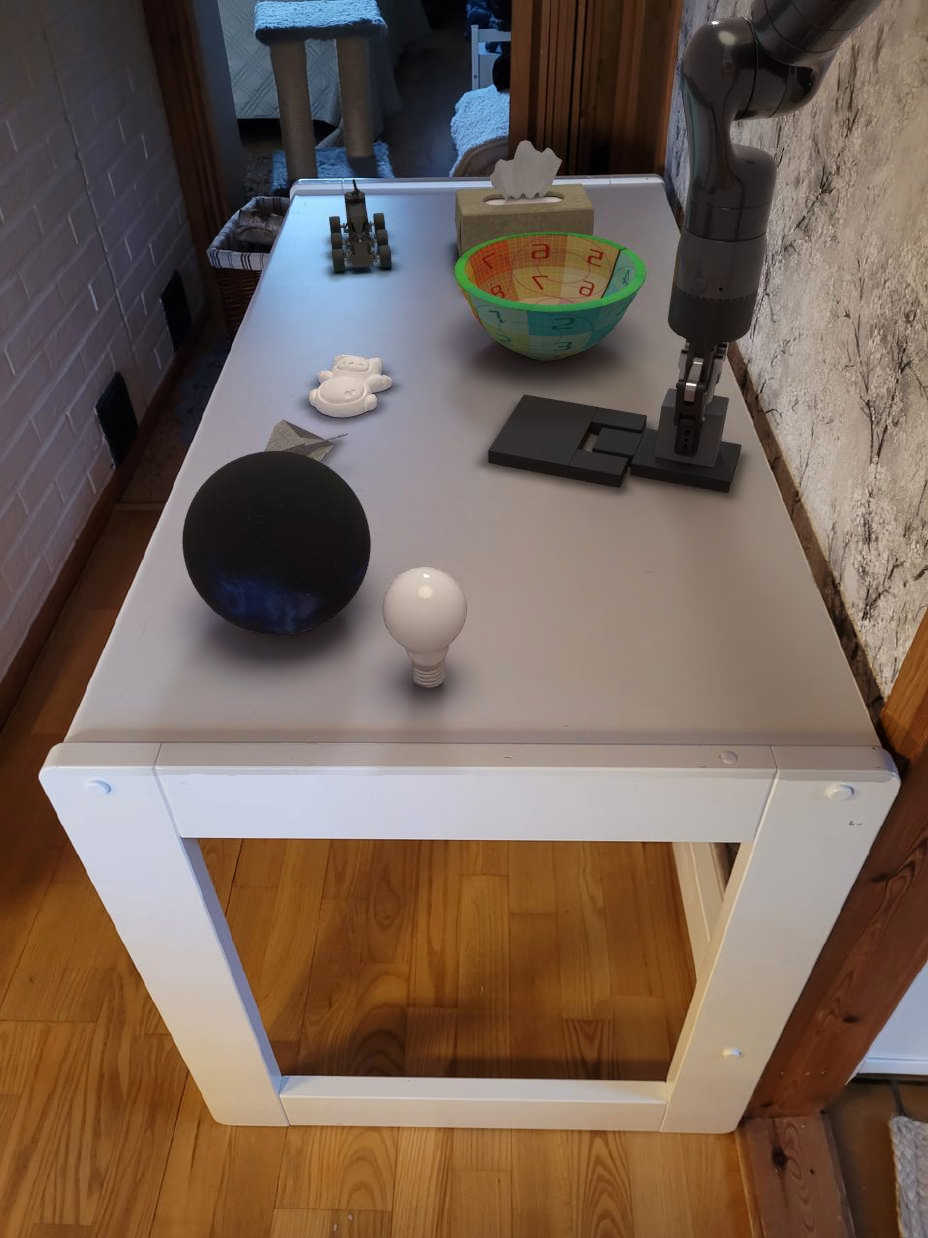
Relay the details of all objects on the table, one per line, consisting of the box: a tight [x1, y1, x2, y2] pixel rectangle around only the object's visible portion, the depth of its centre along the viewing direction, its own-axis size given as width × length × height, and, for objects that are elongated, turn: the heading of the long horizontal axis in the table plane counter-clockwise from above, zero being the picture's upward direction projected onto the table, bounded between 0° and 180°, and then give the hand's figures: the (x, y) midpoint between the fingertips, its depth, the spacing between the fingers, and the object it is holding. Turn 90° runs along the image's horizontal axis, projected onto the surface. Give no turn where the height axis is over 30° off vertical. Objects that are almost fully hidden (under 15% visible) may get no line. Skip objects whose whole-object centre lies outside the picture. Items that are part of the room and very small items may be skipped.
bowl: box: [453, 232, 648, 361], centre depth 114 cm, size 22×22×10 cm
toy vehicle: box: [328, 178, 393, 273], centre depth 137 cm, size 8×15×9 cm, turn 8°
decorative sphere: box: [181, 451, 372, 636], centre depth 78 cm, size 15×15×15 cm
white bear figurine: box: [308, 353, 393, 418], centre depth 110 cm, size 9×12×3 cm
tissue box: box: [454, 139, 595, 259], centre depth 133 cm, size 19×10×16 cm, turn 95°
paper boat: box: [263, 419, 349, 462], centre depth 97 cm, size 12×6×9 cm
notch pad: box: [487, 393, 648, 488], centre depth 101 cm, size 14×12×2 cm
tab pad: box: [591, 387, 743, 494], centre depth 96 cm, size 14×7×8 cm, turn 70°
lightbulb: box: [381, 566, 468, 688], centre depth 73 cm, size 6×6×11 cm
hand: (689, 442), depth 96 cm, fingers closed on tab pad, 3 cm apart
